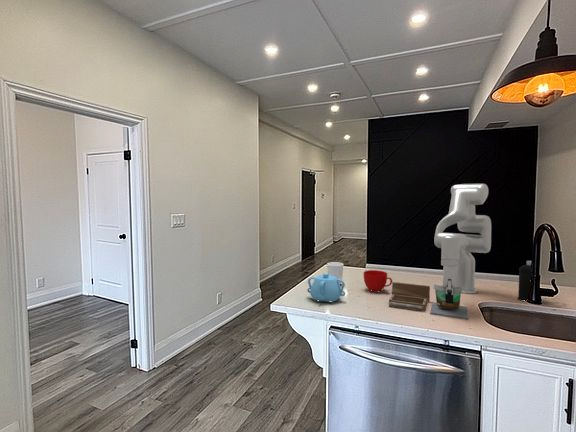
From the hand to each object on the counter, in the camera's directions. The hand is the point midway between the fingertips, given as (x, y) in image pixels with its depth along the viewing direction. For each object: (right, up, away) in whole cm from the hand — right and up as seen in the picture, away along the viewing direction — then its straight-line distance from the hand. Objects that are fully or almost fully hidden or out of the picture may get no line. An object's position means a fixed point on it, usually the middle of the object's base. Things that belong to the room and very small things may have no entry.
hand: (449, 300), depth 149 cm
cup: (-46, -3, +46) cm, 65 cm away
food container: (-1, -3, -1) cm, 3 cm away
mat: (0, -5, 0) cm, 5 cm away
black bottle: (+47, -4, +15) cm, 50 cm away
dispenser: (-15, -4, +10) cm, 19 cm away
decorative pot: (-55, -4, +19) cm, 58 cm away
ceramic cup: (-24, -3, +33) cm, 40 cm away
